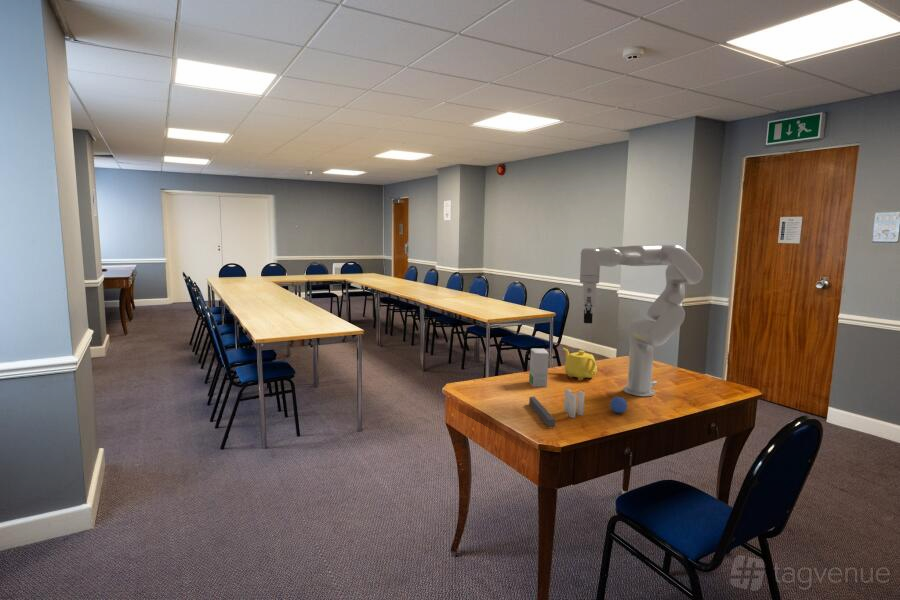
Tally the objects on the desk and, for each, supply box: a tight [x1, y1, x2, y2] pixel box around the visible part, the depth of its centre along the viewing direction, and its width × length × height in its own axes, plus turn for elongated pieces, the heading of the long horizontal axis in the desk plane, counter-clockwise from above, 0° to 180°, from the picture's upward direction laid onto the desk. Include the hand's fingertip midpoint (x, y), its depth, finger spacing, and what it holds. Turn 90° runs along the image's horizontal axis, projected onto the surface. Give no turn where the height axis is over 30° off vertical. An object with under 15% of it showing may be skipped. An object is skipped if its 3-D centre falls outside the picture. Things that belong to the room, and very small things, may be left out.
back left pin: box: [568, 392, 578, 419], centre depth 180 cm, size 2×2×8 cm
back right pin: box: [563, 388, 572, 414], centre depth 185 cm, size 2×2×8 cm
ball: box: [609, 396, 628, 414], centre depth 185 cm, size 6×6×6 cm
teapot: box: [562, 347, 598, 381], centre depth 232 cm, size 14×20×13 cm
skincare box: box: [528, 347, 550, 388], centre depth 219 cm, size 8×7×16 cm
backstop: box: [528, 396, 556, 428], centre depth 181 cm, size 2×24×3 cm, turn 7°
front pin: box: [576, 390, 586, 416], centre depth 183 cm, size 2×2×8 cm
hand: (587, 321), depth 200 cm, fingers open, 9 cm apart
